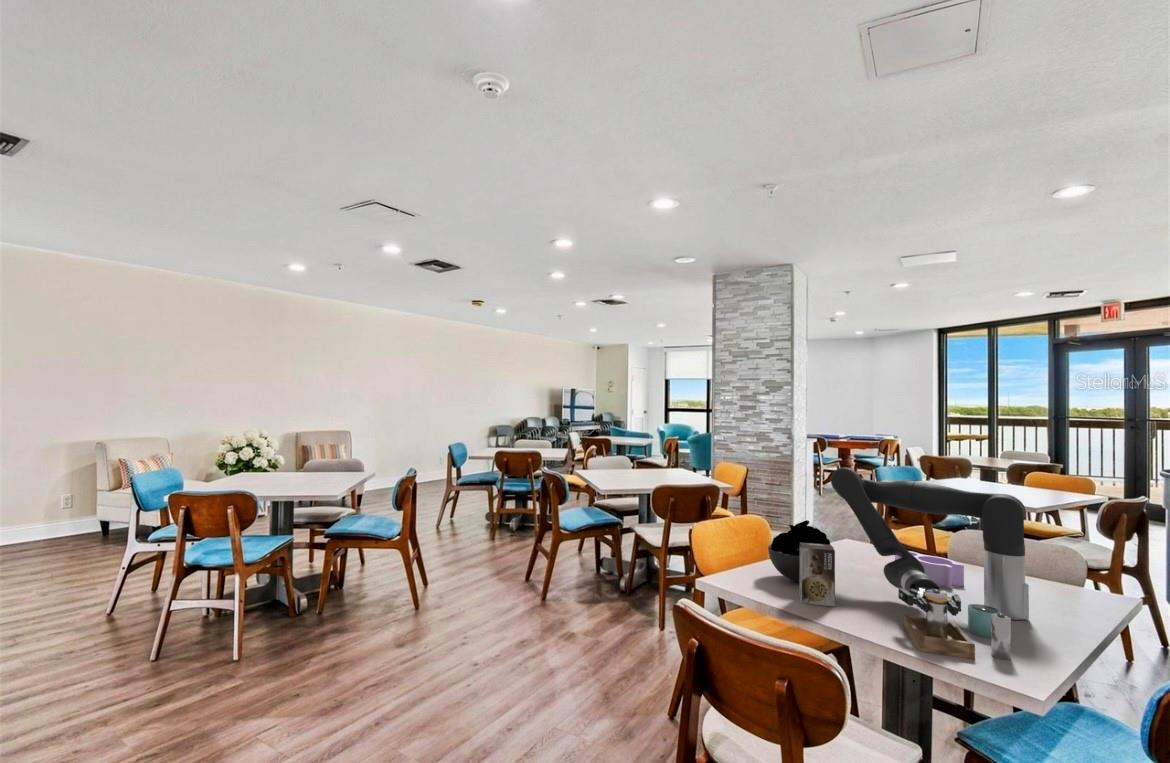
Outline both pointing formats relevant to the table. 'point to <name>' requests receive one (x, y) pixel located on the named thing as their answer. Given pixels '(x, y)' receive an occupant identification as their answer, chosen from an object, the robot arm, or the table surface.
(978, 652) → the table surface
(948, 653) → the brown wooden tray
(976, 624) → the cup
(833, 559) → the coffee box
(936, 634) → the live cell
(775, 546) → the coal bowl
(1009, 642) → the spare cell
